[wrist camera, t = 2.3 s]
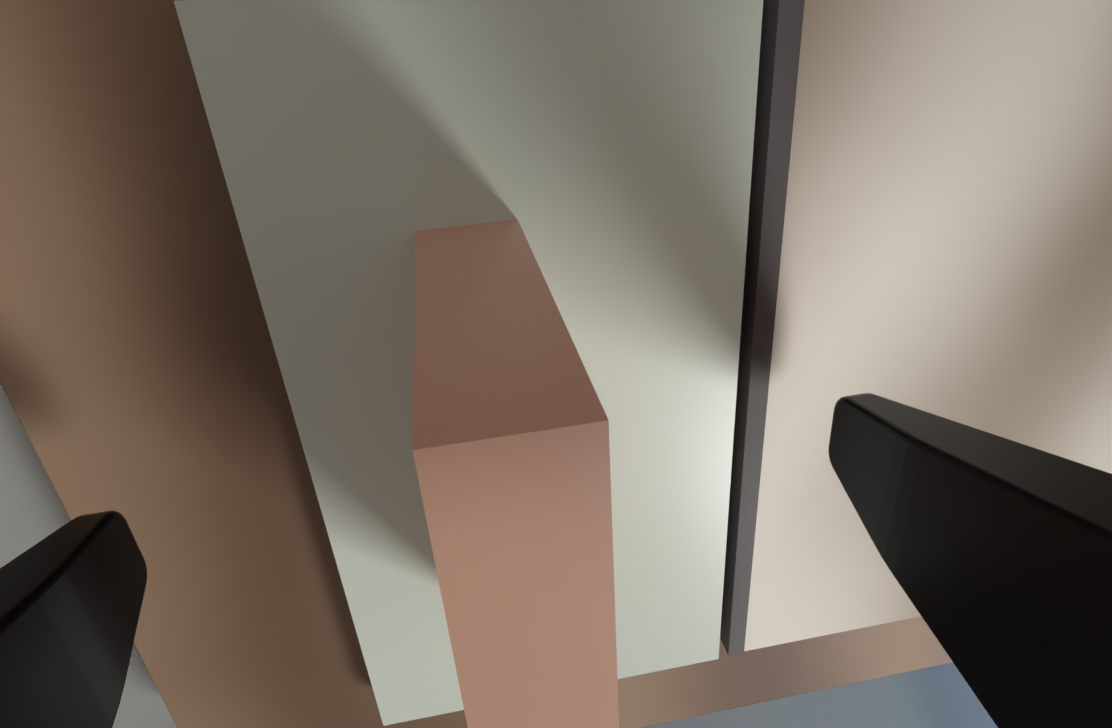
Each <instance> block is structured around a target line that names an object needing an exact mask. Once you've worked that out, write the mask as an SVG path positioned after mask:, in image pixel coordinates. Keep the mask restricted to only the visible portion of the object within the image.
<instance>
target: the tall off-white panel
mask: <svg viewBox="0 0 1112 728" xmlns="http://www.w3.org/2000/svg"><path fill="white" fill-rule="evenodd" d="M174 4H175V8H176V11H177V15H178V18H179V21H180V25H181V28H182V32H183V35H184V39H185V42H186V46H187V49H188V53H189V56H190V59H191V63H192V66H193V70H194V73H195V77H196V80H197V84H198V87H199V91H200V94H201V97H202V101H203V104H204V108H205V111H206V115H207V118H208V122H209V125H210V128H211V132H212V135H213V139H214V142H215V146H216V149H217V153H218V156H219V160H220V163H221V166H222V170H223V173H224V177H225V180H226V184H227V187H228V191H229V194H230V198H231V201H232V204H233V208H234V211H235V215H236V218H237V222H238V225H239V229H240V232H241V236H242V239H243V242H244V246H245V249H246V253H247V256H248V260H249V263H250V267H251V270H252V274H253V277H254V280H255V284H256V287H257V291H258V294H259V298H260V301H261V305H262V308H263V312H264V315H265V318H266V322H267V325H268V329H269V332H270V336H271V339H272V343H273V346H274V350H275V353H276V356H277V360H278V363H279V367H280V370H281V374H282V377H283V381H284V384H285V388H286V391H287V394H288V398H289V401H290V405H291V408H292V412H293V415H294V419H295V422H296V426H297V429H298V432H299V436H300V439H301V443H302V446H303V450H304V453H305V457H306V460H307V464H308V467H309V470H310V474H311V477H312V481H313V484H314V488H315V491H316V495H317V498H318V502H319V505H320V508H321V512H322V515H323V519H324V522H325V526H326V529H327V533H328V536H329V540H330V543H331V546H332V550H333V553H334V557H335V560H336V564H337V567H338V571H339V574H340V578H341V581H342V584H343V588H344V591H345V595H346V598H347V602H348V605H349V609H350V612H351V616H352V619H353V622H354V626H355V629H356V633H357V636H358V640H359V643H360V647H361V650H362V654H363V657H364V660H365V664H366V667H367V671H368V674H369V678H370V681H371V685H372V688H373V692H374V695H375V698H376V702H377V705H378V709H379V712H380V716H381V719H382V723H383V726H386V725H391V724H396V723H401V722H406V721H411V720H416V719H421V718H426V717H431V716H436V715H441V714H446V713H451V712H456V711H461V710H464V712H465V717H466V722H467V727H468V728H619V707H618V679H621V678H626V677H631V676H636V675H641V674H646V673H651V672H656V671H661V670H666V669H671V668H676V667H681V666H686V665H691V664H696V663H701V662H706V661H711V660H716V659H719V645H720V630H721V615H722V600H723V586H724V571H725V556H726V542H727V527H728V512H729V498H730V483H731V468H732V454H733V439H734V424H735V410H736V395H737V380H738V365H739V351H740V336H741V321H742V307H743V292H744V277H745V263H746V248H747V233H748V219H749V204H750V189H751V175H752V160H753V145H754V131H755V116H756V101H757V86H758V72H759V57H760V42H761V28H762V13H763V0H178V1H174Z"/></svg>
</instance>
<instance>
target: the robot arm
mask: <svg viewBox="0 0 1112 728" xmlns="http://www.w3.org/2000/svg"><path fill="white" fill-rule="evenodd" d="M828 452H829V459H830V462H831V465H832V467H833V469H834V471H835V473H836V475H837V477H838V479H839V480H840V482H841V484H842V486H843V488H844V490H845V492H846V493H847V495H848V497H849V499H850V501H851V503H852V504H853V506H854V508H855V510H856V512H857V514H858V516H859V517H860V519H861V521H862V523H863V525H864V527H865V528H866V530H867V532H868V534H869V536H870V538H871V540H872V541H873V543H874V545H875V547H876V548H877V550H878V552H879V554H880V555H881V557H882V559H883V560H884V562H885V563H886V565H887V566H888V568H889V570H890V571H891V573H892V574H893V576H894V577H895V579H896V580H897V582H898V583H899V584H900V586H901V587H902V589H903V590H904V592H905V593H906V595H907V596H908V598H909V599H910V600H911V602H912V603H913V605H914V606H915V608H916V609H917V611H918V612H919V614H920V615H921V616H922V618H923V619H924V621H925V622H926V624H927V625H928V627H929V628H930V630H931V631H932V632H933V634H934V635H935V637H936V638H937V640H938V641H939V643H940V644H941V646H942V647H943V648H944V650H945V651H946V653H947V654H948V656H949V657H950V659H951V660H952V661H953V663H954V664H955V666H956V667H957V669H958V670H959V672H960V673H961V675H962V676H963V677H964V679H965V680H966V682H967V683H968V685H969V686H970V688H971V689H972V691H973V692H974V693H975V695H976V696H977V698H978V699H979V701H980V702H981V704H982V705H983V707H984V708H985V709H986V711H987V712H988V714H989V715H990V717H991V718H992V720H993V721H994V723H995V724H996V725H997V727H998V728H1112V474H1111V473H1108V472H1105V471H1102V470H1099V469H1096V468H1093V467H1090V466H1087V465H1084V464H1081V463H1078V462H1075V461H1072V460H1069V459H1066V458H1063V457H1060V456H1057V455H1054V454H1051V453H1048V452H1045V451H1042V450H1039V449H1036V448H1033V447H1030V446H1027V445H1024V444H1021V443H1018V442H1015V441H1012V440H1009V439H1006V438H1003V437H1000V436H997V435H994V434H991V433H988V432H985V431H982V430H979V429H976V428H973V427H970V426H967V425H964V424H961V423H958V422H955V421H952V420H950V419H947V418H944V417H941V416H938V415H935V414H932V413H929V412H926V411H923V410H920V409H917V408H914V407H911V406H908V405H905V404H902V403H899V402H896V401H893V400H890V399H887V398H884V397H881V396H878V395H875V394H871V393H862V394H856V395H850V396H844V397H841V398H840V399H839V400H838V401H837V402H836V404H835V407H834V412H833V419H832V426H831V433H830V440H829V448H828ZM146 583H147V567H146V562H145V560H144V557H143V555H142V553H141V551H140V549H139V547H138V544H137V542H136V540H135V538H134V536H133V534H132V532H131V529H130V527H129V525H128V523H127V521H126V519H125V518H124V516H123V515H122V514H121V513H119V512H117V511H113V510H111V511H105V512H98V513H92V514H85V515H81V516H78V517H76V518H74V519H73V520H71V521H70V522H68V523H67V524H65V525H64V526H62V527H61V528H59V529H58V530H56V531H55V532H53V533H52V534H50V535H49V536H47V537H46V538H45V539H43V540H42V541H40V542H39V543H37V544H36V545H34V546H33V547H31V548H30V549H28V550H27V551H25V552H24V553H22V554H21V555H19V556H18V557H16V558H15V559H14V560H12V561H11V562H9V563H8V564H6V565H5V566H3V567H2V568H0V728H112V726H113V723H114V720H115V717H116V713H117V710H118V707H119V704H120V700H121V696H122V692H123V688H124V684H125V680H126V675H127V671H128V666H129V662H130V657H131V652H132V648H133V643H134V639H135V634H136V629H137V625H138V620H139V616H140V611H141V607H142V602H143V597H144V593H145V588H146Z"/></svg>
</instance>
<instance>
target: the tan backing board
mask: <svg viewBox="0 0 1112 728" xmlns="http://www.w3.org/2000/svg"><path fill="white" fill-rule="evenodd" d="M174 1H178V0H0V383H1V385H2V387H3V389H4V391H5V393H6V395H7V396H8V398H9V400H10V402H11V404H12V406H13V408H14V410H15V412H16V414H17V416H18V418H19V420H20V422H21V424H22V426H23V428H24V430H25V432H26V433H27V435H28V437H29V439H30V441H31V443H32V445H33V447H34V449H35V451H36V453H37V455H38V457H39V459H40V461H41V463H42V465H43V467H44V469H45V471H46V472H47V474H48V476H49V478H50V480H51V482H52V484H53V486H54V488H55V490H56V492H57V494H58V496H59V498H60V500H61V502H62V504H63V506H64V508H65V509H66V511H67V513H68V515H69V517H70V519H71V520H73V519H74V518H76V517H78V516H81V515H85V514H92V513H98V512H105V511H111V510H113V511H117V512H119V513H121V514H122V515H123V516H124V518H125V519H126V521H127V523H128V525H129V527H130V529H131V532H132V534H133V536H134V538H135V540H136V542H137V544H138V547H139V549H140V551H141V553H142V555H143V557H144V560H145V562H146V567H147V583H146V588H145V593H144V597H143V602H142V607H141V611H140V616H139V620H138V625H137V629H136V634H135V639H134V644H135V646H136V648H137V650H138V652H139V654H140V656H141V658H142V659H143V661H144V663H145V665H146V667H147V669H148V671H149V673H150V675H151V677H152V679H153V681H154V683H155V685H156V687H157V689H158V691H159V693H160V695H161V696H162V698H163V700H164V702H165V704H166V706H167V708H168V710H169V712H170V714H171V716H172V718H173V720H174V722H175V724H176V726H177V728H468V727H467V722H466V717H465V712H464V710H461V711H456V712H451V713H446V714H441V715H436V716H431V717H426V718H421V719H416V720H411V721H406V722H401V723H396V724H391V725H386V726H383V723H382V719H381V716H380V712H379V709H378V705H377V702H376V698H375V695H374V692H373V688H372V685H371V681H370V678H369V674H368V671H367V667H366V664H365V660H364V657H363V654H362V650H361V647H360V643H359V640H358V636H357V633H356V629H355V626H354V622H353V619H352V616H351V612H350V609H349V605H348V602H347V598H346V595H345V591H344V588H343V584H342V581H341V578H340V574H339V571H338V567H337V564H336V560H335V557H334V553H333V550H332V546H331V543H330V540H329V536H328V533H327V529H326V526H325V522H324V519H323V515H322V512H321V508H320V505H319V502H318V498H317V495H316V491H315V488H314V484H313V481H312V477H311V474H310V470H309V467H308V464H307V460H306V457H305V453H304V450H303V446H302V443H301V439H300V436H299V432H298V429H297V426H296V422H295V419H294V415H293V412H292V408H291V405H290V401H289V398H288V394H287V391H286V388H285V384H284V381H283V377H282V374H281V370H280V367H279V363H278V360H277V356H276V353H275V350H274V346H273V343H272V339H271V336H270V332H269V329H268V325H267V322H266V318H265V315H264V312H263V308H262V305H261V301H260V298H259V294H258V291H257V287H256V284H255V280H254V277H253V274H252V270H251V267H250V263H249V260H248V256H247V253H246V249H245V246H244V242H243V239H242V236H241V232H240V229H239V225H238V222H237V218H236V215H235V211H234V208H233V204H232V201H231V198H230V194H229V191H228V187H227V184H226V180H225V177H224V173H223V170H222V166H221V163H220V160H219V156H218V153H217V149H216V146H215V142H214V139H213V135H212V132H211V128H210V125H209V122H208V118H207V115H206V111H205V108H204V104H203V101H202V97H201V94H200V91H199V87H198V84H197V80H196V77H195V73H194V70H193V66H192V63H191V59H190V56H189V53H188V49H187V46H186V42H185V39H184V35H183V32H182V28H181V25H180V21H179V18H178V15H177V11H176V8H175V4H174ZM862 393H871V394H875V395H878V396H881V397H884V398H887V399H890V400H893V401H896V402H899V403H902V404H905V405H908V406H911V407H914V408H917V409H920V410H923V411H926V412H929V413H932V414H935V415H938V416H941V417H944V418H947V419H950V420H952V421H955V422H958V423H961V424H964V425H967V426H970V427H973V428H976V429H979V430H982V431H985V432H988V433H991V434H994V435H997V436H1000V437H1003V438H1006V439H1009V440H1012V441H1015V442H1018V443H1021V444H1024V445H1027V446H1030V447H1033V448H1036V449H1039V450H1042V451H1045V452H1048V453H1051V454H1054V455H1057V456H1060V457H1063V458H1066V459H1069V460H1072V461H1075V462H1078V463H1081V464H1084V465H1087V466H1090V467H1093V468H1096V469H1099V470H1102V471H1105V472H1108V473H1111V474H1112V0H763V13H762V28H761V42H760V57H759V72H758V86H757V101H756V116H755V131H754V145H753V160H752V175H751V189H750V204H749V219H748V233H747V248H746V263H745V277H744V292H743V307H742V321H741V336H740V351H739V365H738V380H737V395H736V410H735V424H734V439H733V454H732V468H731V483H730V498H729V512H728V527H727V542H726V556H725V571H724V586H723V600H722V615H721V630H720V645H719V659H716V660H711V661H706V662H701V663H696V664H691V665H686V666H681V667H676V668H671V669H666V670H661V671H656V672H651V673H646V674H641V675H636V676H631V677H626V678H621V679H618V707H619V728H641V727H645V726H650V725H655V724H660V723H665V722H669V721H674V720H679V719H684V718H688V717H693V716H698V715H703V714H708V713H712V712H717V711H722V710H727V709H732V708H736V707H741V706H746V705H751V704H755V703H760V702H765V701H770V700H775V699H779V698H784V697H789V696H794V695H798V694H803V693H808V692H813V691H818V690H822V689H827V688H832V687H837V686H841V685H846V684H851V683H856V682H861V681H865V680H870V679H875V678H880V677H884V676H889V675H894V674H899V673H904V672H908V671H913V670H918V669H923V668H927V667H932V666H937V665H942V664H947V663H951V662H953V661H952V660H951V659H950V657H949V656H948V654H947V653H946V651H945V650H944V648H943V647H942V646H941V644H940V643H939V641H938V640H937V638H936V637H935V635H934V634H933V632H932V631H931V630H930V628H929V627H928V625H927V624H926V622H925V621H924V619H923V618H922V616H921V615H920V614H919V612H918V611H917V609H916V608H915V606H914V605H913V603H912V602H911V600H910V599H909V598H908V596H907V595H906V593H905V592H904V590H903V589H902V587H901V586H900V584H899V583H898V582H897V580H896V579H895V577H894V576H893V574H892V573H891V571H890V570H889V568H888V566H887V565H886V563H885V562H884V560H883V559H882V557H881V555H880V554H879V552H878V550H877V548H876V547H875V545H874V543H873V541H872V540H871V538H870V536H869V534H868V532H867V530H866V528H865V527H864V525H863V523H862V521H861V519H860V517H859V516H858V514H857V512H856V510H855V508H854V506H853V504H852V503H851V501H850V499H849V497H848V495H847V493H846V492H845V490H844V488H843V486H842V484H841V482H840V480H839V479H838V477H837V475H836V473H835V471H834V469H833V467H832V465H831V462H830V459H829V452H828V448H829V440H830V433H831V426H832V419H833V412H834V407H835V404H836V402H837V401H838V400H839V399H840V398H841V397H844V396H850V395H856V394H862Z"/></svg>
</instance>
